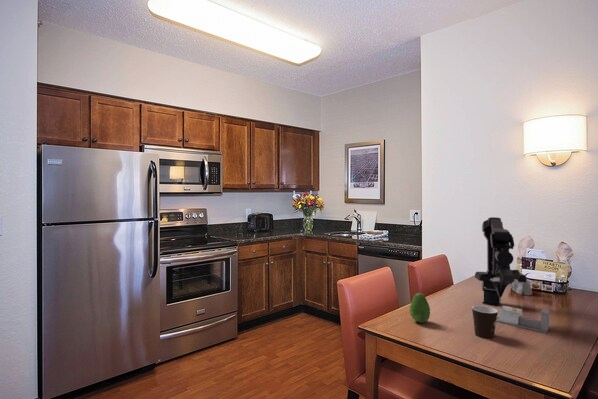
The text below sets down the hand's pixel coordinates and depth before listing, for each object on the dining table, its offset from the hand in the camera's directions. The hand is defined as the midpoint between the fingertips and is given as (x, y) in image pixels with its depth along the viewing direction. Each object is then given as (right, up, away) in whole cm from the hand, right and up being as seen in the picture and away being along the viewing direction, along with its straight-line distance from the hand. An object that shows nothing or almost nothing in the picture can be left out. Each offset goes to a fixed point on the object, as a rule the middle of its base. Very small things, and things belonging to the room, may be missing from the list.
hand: (499, 296), depth 149 cm
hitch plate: (+6, -10, -6) cm, 13 cm away
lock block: (+3, -9, -3) cm, 10 cm away
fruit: (-35, -10, -3) cm, 37 cm away
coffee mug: (-14, -10, -16) cm, 23 cm away
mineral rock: (+35, -9, +40) cm, 54 cm away
